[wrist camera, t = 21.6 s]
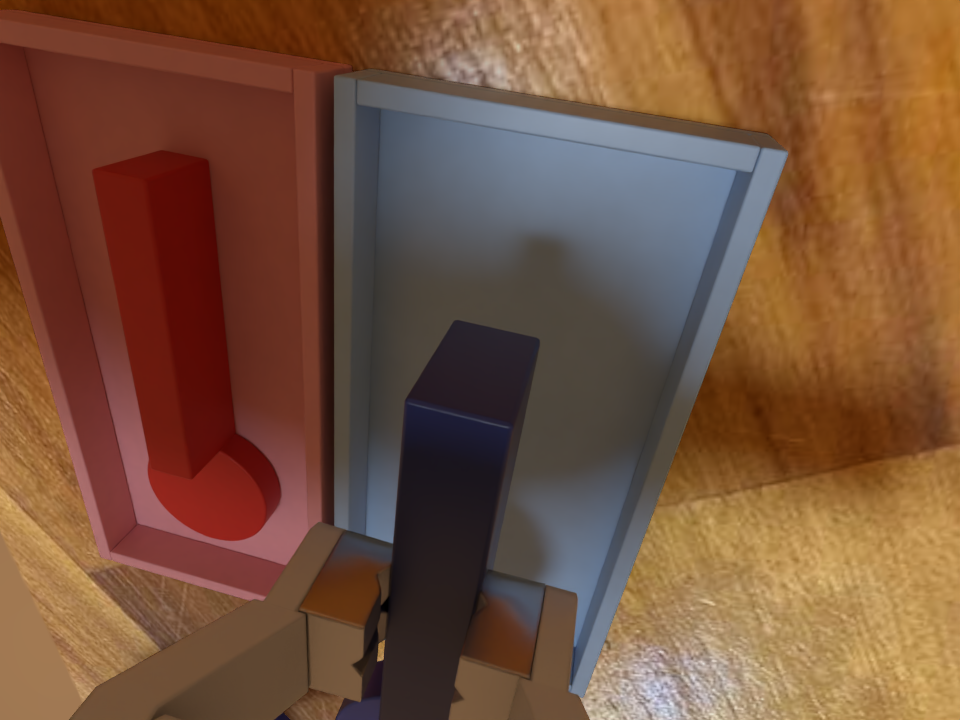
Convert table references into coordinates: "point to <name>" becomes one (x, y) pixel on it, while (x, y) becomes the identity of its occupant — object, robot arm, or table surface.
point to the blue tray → (537, 301)
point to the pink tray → (241, 253)
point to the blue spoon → (447, 514)
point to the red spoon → (181, 343)
